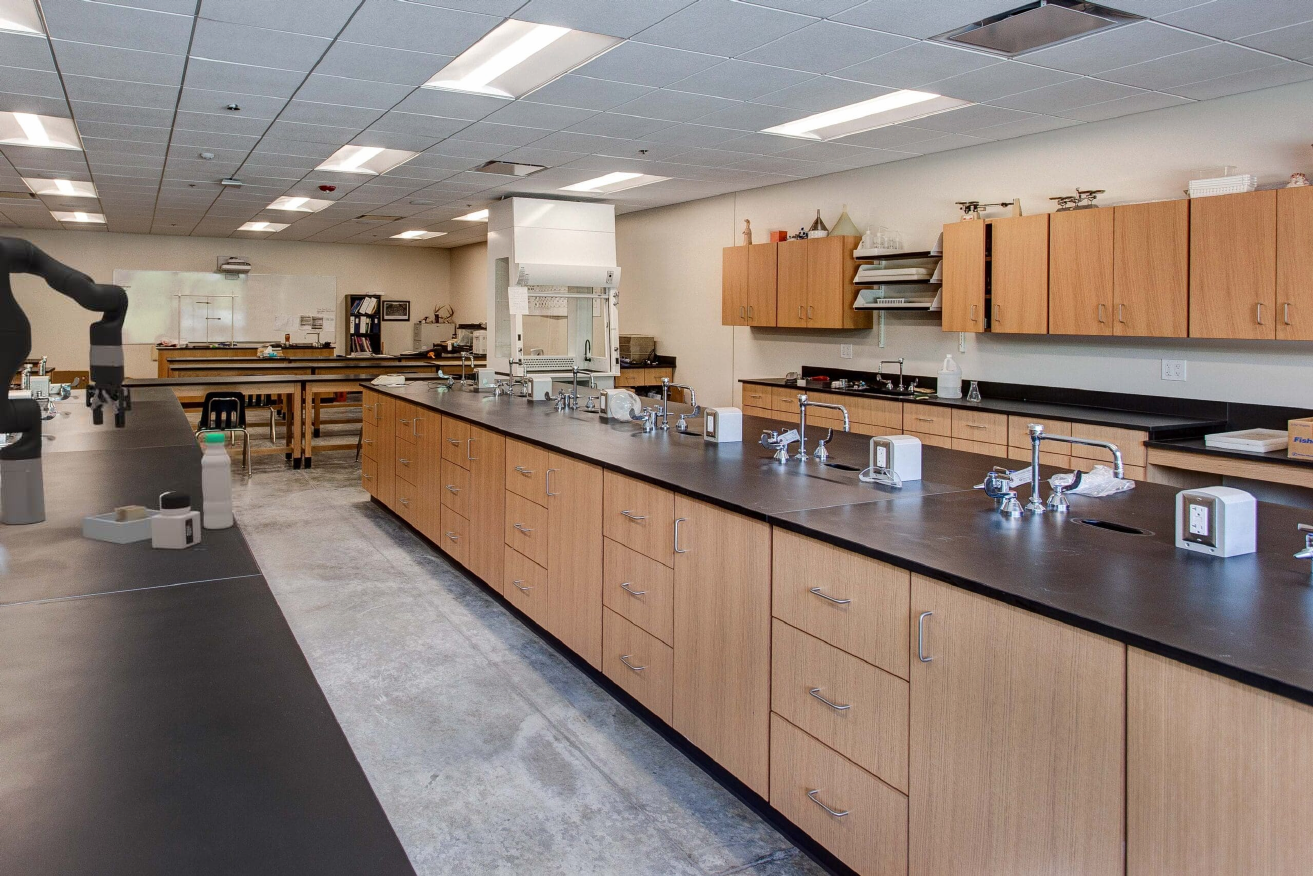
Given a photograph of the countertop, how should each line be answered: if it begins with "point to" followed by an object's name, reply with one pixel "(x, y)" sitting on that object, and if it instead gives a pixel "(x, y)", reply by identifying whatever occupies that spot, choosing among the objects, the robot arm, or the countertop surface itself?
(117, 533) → the gray bin
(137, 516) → the maple block
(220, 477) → the water bottle
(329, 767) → the countertop surface
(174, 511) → the container
